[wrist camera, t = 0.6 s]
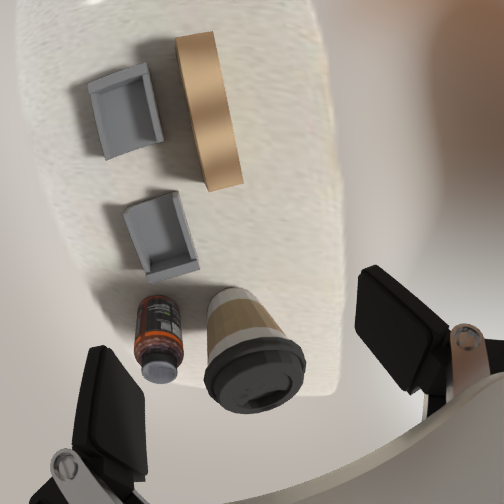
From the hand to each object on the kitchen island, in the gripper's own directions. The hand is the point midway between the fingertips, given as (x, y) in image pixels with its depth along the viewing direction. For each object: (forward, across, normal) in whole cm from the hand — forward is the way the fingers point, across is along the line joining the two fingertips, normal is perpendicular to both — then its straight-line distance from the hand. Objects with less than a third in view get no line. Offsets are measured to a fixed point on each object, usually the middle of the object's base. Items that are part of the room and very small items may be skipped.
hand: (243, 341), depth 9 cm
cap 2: (+24, +5, +4) cm, 25 cm away
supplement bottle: (+24, +9, +14) cm, 30 cm away
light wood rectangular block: (+24, -3, -9) cm, 26 cm away
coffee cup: (+24, -1, +17) cm, 30 cm away
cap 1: (+24, +5, -11) cm, 27 cm away
